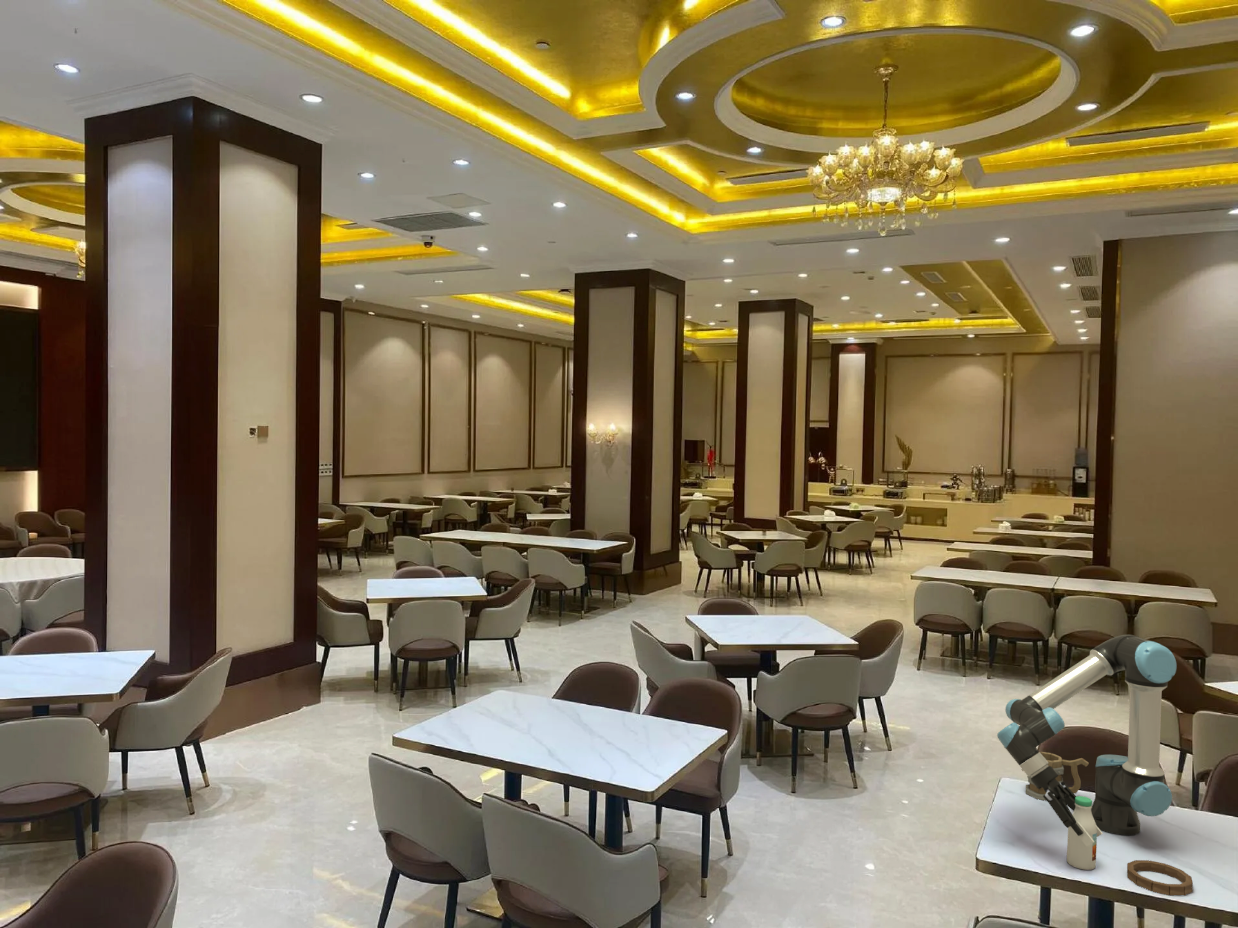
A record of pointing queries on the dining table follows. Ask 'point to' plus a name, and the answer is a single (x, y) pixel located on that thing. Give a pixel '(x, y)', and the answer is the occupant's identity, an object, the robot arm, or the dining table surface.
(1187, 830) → the dining table surface
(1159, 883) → the walnut ring
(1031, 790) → the tankard
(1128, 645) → the robot arm
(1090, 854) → the milk bottle
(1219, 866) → the dining table surface
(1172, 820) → the dining table surface
